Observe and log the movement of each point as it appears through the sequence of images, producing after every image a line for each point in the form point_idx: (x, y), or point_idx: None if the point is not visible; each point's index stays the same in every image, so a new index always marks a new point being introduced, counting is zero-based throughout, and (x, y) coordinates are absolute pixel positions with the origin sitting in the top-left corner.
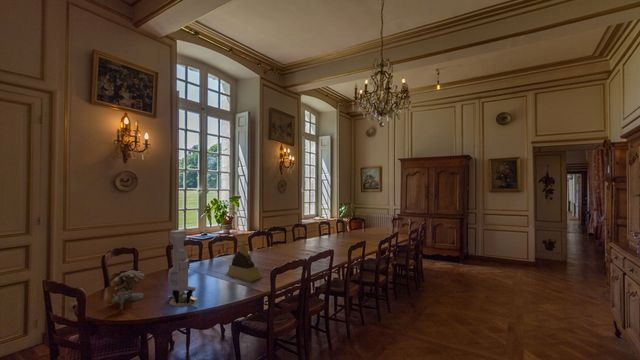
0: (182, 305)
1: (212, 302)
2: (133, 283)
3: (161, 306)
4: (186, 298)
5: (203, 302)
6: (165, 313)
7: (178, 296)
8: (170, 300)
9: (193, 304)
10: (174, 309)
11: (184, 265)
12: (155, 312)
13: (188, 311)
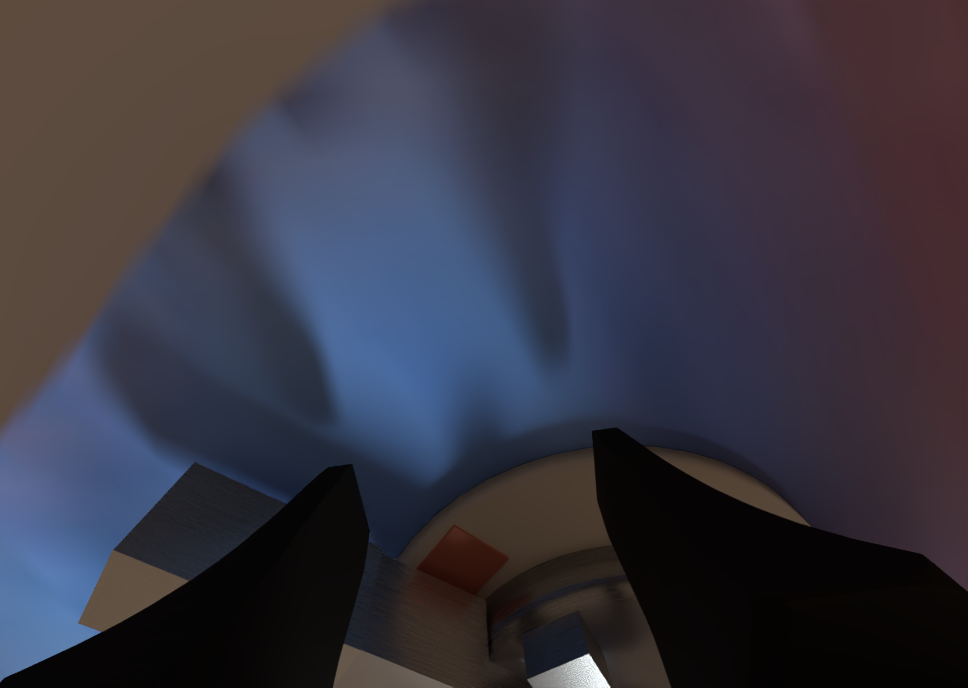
0: (507, 477)
1: None
2: None
3: (919, 400)
4: (496, 665)
5: None
6: (671, 21)
7: (653, 620)
8: None
9: (217, 479)
10: (577, 289)
11: None
12: (941, 55)
13: (191, 220)
